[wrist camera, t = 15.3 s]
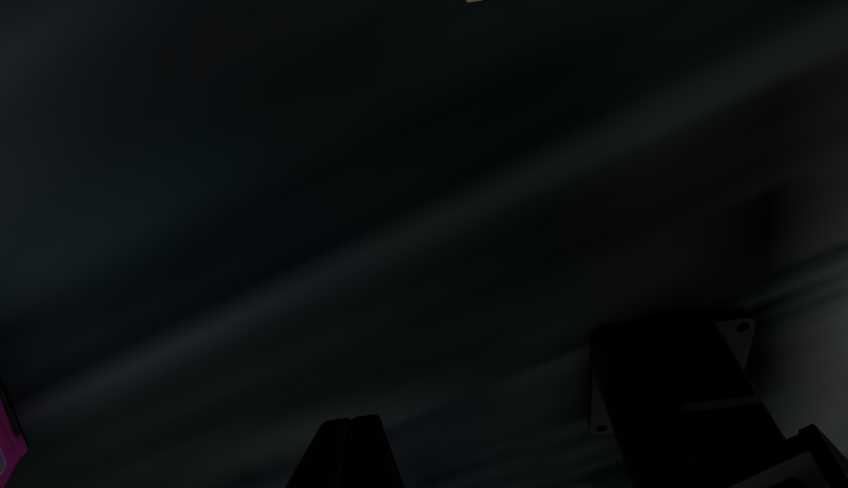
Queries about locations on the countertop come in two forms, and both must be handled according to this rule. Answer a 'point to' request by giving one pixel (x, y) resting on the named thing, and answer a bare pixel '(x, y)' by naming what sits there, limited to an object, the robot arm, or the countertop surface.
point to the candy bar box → (9, 442)
